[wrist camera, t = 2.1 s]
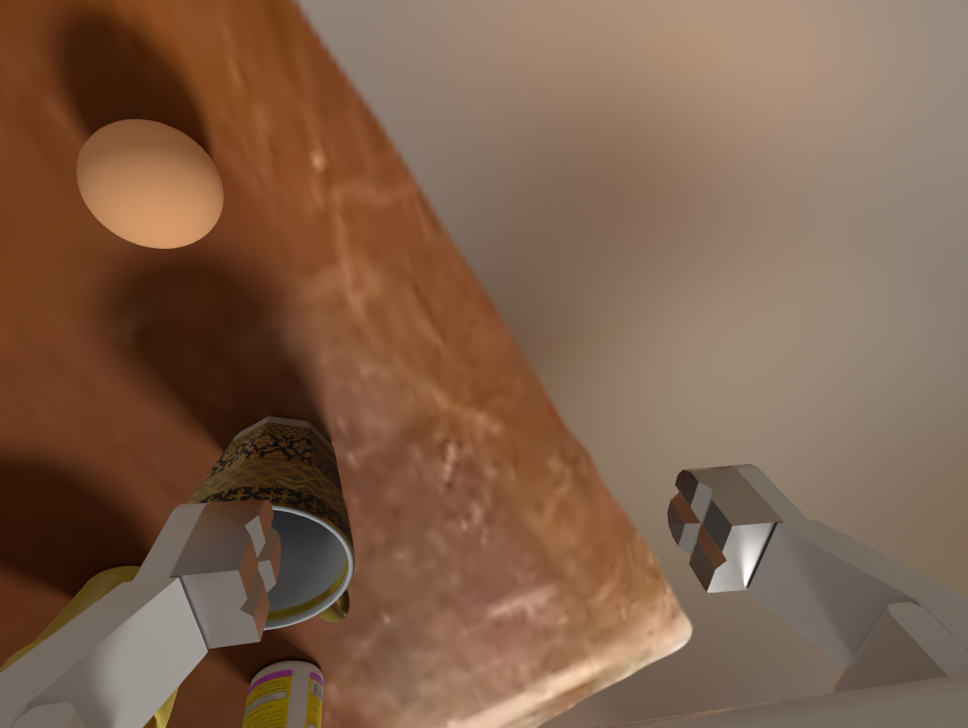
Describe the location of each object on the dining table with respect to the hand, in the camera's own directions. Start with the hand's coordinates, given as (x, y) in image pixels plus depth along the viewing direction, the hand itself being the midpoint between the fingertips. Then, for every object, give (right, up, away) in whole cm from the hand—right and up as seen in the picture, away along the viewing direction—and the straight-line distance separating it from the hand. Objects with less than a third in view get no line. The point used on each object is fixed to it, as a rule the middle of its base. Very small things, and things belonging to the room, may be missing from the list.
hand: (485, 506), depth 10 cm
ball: (-15, +11, +13) cm, 23 cm away
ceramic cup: (-14, -5, +26) cm, 29 cm away
